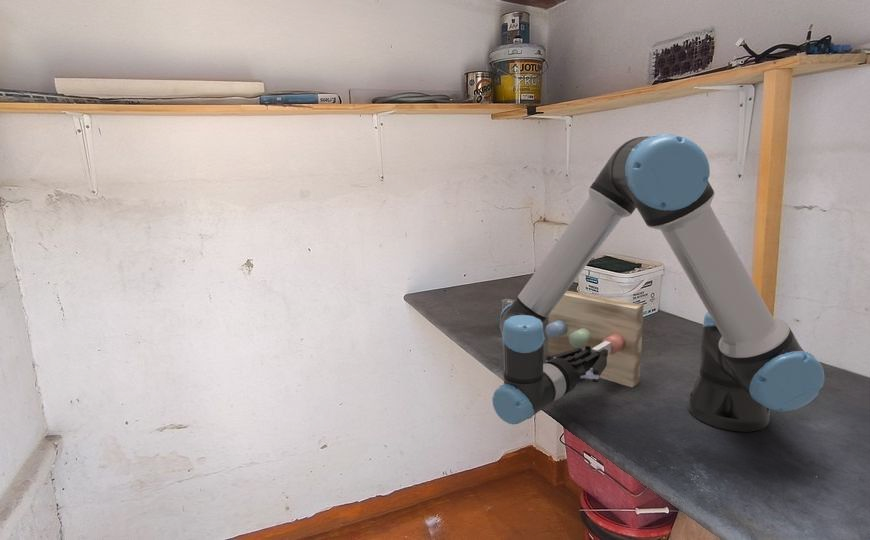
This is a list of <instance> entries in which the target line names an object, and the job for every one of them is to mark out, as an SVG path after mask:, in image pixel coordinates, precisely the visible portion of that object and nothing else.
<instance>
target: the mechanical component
mask: <svg viewBox="0 0 870 540" xmlns="http://www.w3.org/2000/svg"><path fill="white" fill-rule="evenodd" d="M514 301H515V299H510V298H505V299H501V300H500V304H501V309H502V310H501V311H503V309H504V308H505V307H506V306H508V305H509V304H512V303H513V302H514Z"/></svg>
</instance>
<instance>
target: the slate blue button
mask: <svg viewBox="0 0 870 540" xmlns="http://www.w3.org/2000/svg"><path fill="white" fill-rule="evenodd" d="M544 332H545V333H546V336H547V338H548V337H550V338H552V339H555V338H557V337H559V336H561V335H563V334H565V333H566V332H567V326H566V324H565V323H564V322H563V321H562V320H557V321H555V322H553V323H550V324H547V325H546V326H545V329H544Z"/></svg>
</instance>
